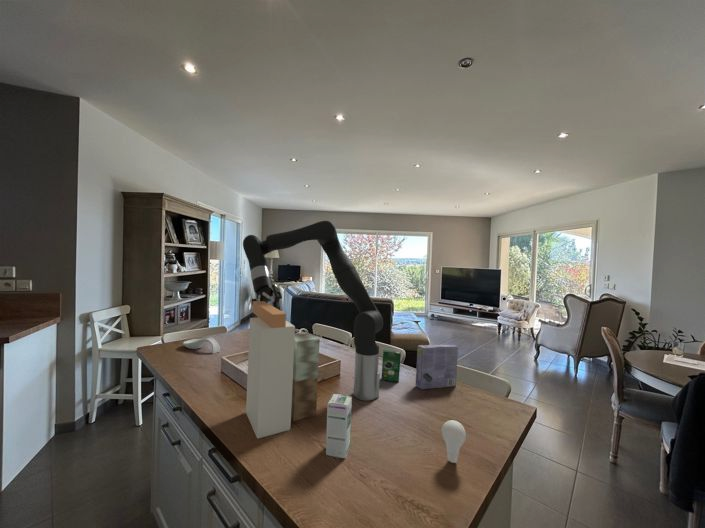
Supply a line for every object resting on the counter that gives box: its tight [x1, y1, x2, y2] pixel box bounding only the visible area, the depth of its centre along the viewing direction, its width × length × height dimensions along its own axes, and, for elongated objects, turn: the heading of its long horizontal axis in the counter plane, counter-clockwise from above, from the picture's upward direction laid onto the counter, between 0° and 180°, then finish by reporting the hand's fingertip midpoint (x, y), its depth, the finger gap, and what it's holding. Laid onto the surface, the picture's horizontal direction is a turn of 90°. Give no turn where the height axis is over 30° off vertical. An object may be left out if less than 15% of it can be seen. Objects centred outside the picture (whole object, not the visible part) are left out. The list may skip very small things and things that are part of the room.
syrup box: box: [325, 393, 353, 460], centre depth 81 cm, size 6×6×14 cm
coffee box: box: [380, 349, 402, 383], centre depth 131 cm, size 8×3×13 cm, turn 79°
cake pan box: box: [415, 344, 459, 390], centre depth 127 cm, size 19×5×18 cm, turn 108°
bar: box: [252, 301, 287, 328], centre depth 98 cm, size 26×4×4 cm, turn 31°
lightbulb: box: [441, 419, 467, 464], centre depth 79 cm, size 6×6×11 cm
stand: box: [245, 317, 296, 439], centre depth 94 cm, size 10×16×32 cm, turn 31°
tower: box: [291, 333, 321, 422], centre depth 100 cm, size 8×8×26 cm
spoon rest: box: [182, 337, 221, 355], centre depth 161 cm, size 24×12×7 cm, turn 65°
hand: (270, 316), depth 113 cm, fingers open, 8 cm apart
